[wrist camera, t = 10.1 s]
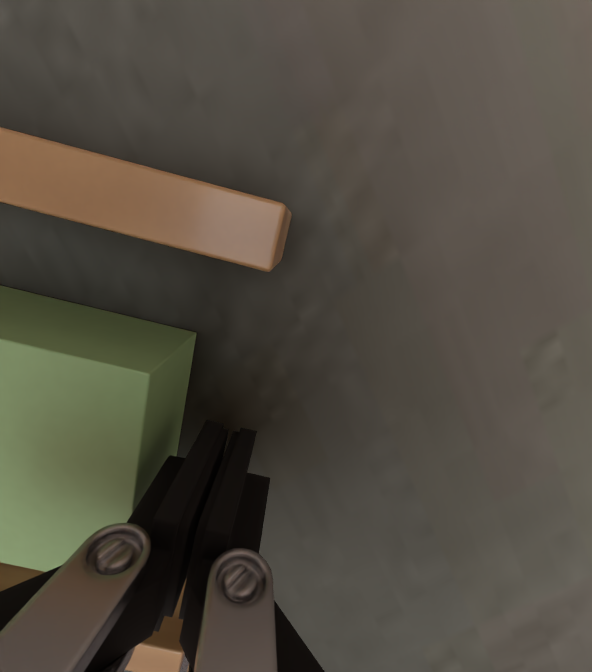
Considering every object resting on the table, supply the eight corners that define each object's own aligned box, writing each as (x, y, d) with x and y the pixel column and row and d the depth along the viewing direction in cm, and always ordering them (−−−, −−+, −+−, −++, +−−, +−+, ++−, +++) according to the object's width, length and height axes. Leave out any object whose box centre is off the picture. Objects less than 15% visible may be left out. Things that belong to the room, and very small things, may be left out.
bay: (-212, 77, 9) (-440, 7, 7) (292, 212, 10) (286, 203, 7) (-140, 518, 14) (-256, 592, 11) (202, 594, 15) (176, 682, 12)
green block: (-16, 280, 11) (-159, 301, 8) (197, 332, 11) (149, 374, 8) (-11, 459, 13) (-121, 537, 10) (170, 499, 13) (123, 589, 10)
